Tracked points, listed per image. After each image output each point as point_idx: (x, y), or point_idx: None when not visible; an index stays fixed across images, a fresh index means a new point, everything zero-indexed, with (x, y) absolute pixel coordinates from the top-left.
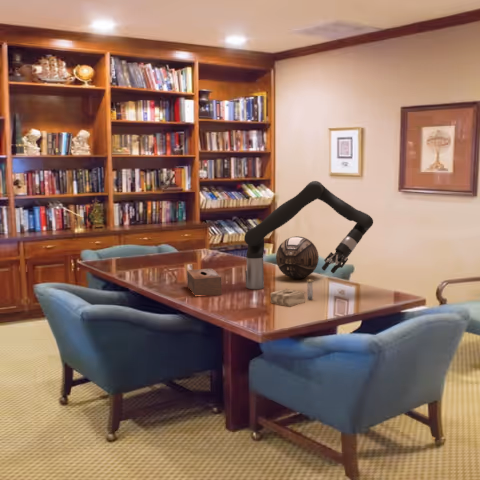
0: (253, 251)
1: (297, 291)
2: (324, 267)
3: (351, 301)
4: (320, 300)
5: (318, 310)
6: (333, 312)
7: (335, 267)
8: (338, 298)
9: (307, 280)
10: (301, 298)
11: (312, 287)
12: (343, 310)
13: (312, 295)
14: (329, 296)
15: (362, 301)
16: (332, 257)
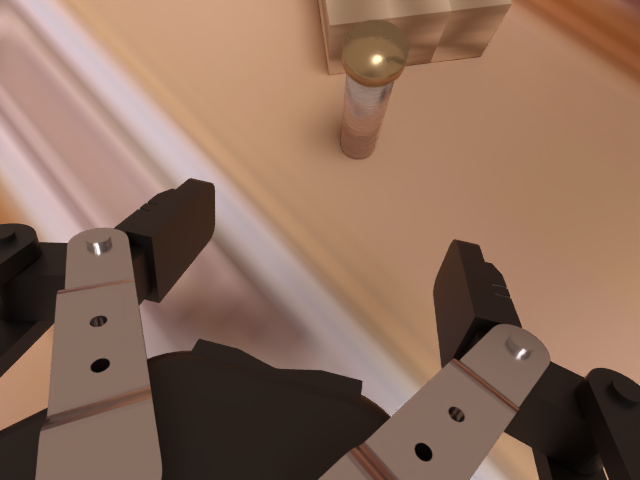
0: None
1: (382, 3)
2: (450, 280)
3: None
4: (287, 170)
5: (132, 4)
6: (40, 30)
7: (126, 221)
8: (237, 302)
9: (377, 20)
10: (324, 24)
11: (348, 104)
12: (19, 97)
13: (344, 136)
14: (327, 300)
15: (50, 360)
16: (374, 439)
